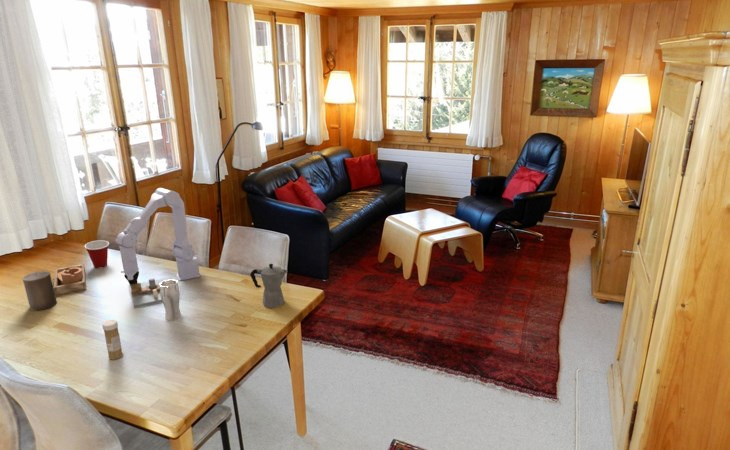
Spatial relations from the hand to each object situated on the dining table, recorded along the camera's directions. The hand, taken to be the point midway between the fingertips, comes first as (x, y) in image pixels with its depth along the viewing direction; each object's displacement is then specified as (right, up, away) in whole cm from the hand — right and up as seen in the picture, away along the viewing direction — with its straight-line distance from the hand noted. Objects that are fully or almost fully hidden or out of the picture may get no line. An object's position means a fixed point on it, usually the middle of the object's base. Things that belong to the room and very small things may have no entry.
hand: (134, 288), depth 212 cm
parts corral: (-36, +1, +14) cm, 39 cm away
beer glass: (+24, -9, -17) cm, 31 cm away
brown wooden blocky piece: (+4, -1, +1) cm, 5 cm away
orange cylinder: (-36, +1, +14) cm, 39 cm away
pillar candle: (-35, -6, -7) cm, 36 cm away
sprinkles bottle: (+14, -18, -43) cm, 49 cm away
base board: (+7, -2, +3) cm, 8 cm away
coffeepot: (+61, -6, -6) cm, 61 cm away
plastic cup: (-32, +7, +32) cm, 45 cm away
